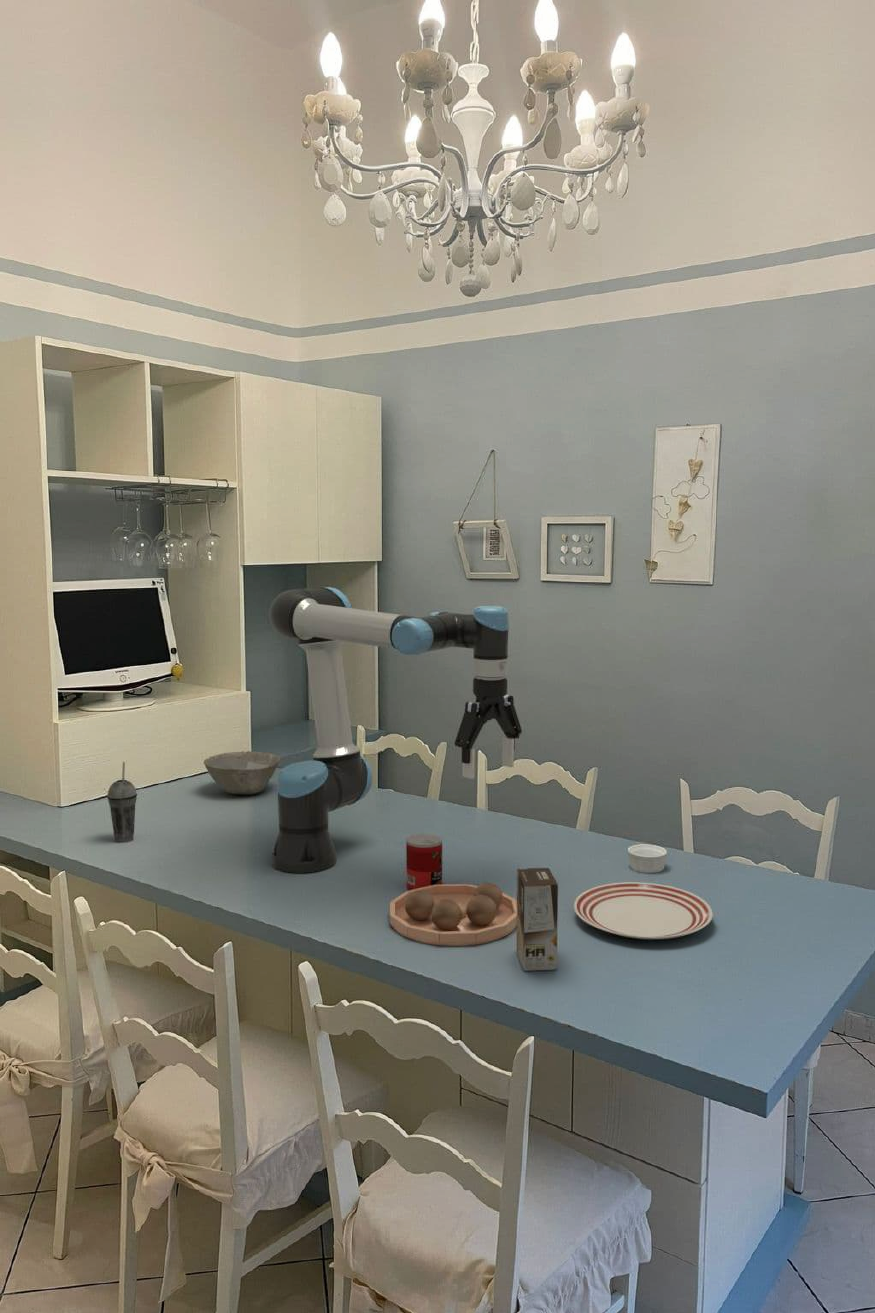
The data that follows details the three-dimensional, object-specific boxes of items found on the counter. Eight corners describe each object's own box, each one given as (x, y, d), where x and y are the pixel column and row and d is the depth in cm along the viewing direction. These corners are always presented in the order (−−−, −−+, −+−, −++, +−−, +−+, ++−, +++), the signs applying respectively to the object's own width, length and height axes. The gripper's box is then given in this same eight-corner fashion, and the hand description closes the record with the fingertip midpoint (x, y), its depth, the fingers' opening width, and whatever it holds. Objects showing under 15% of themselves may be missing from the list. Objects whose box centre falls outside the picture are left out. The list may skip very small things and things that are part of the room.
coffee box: (558, 970, 179) (559, 884, 177) (523, 971, 179) (523, 885, 176) (548, 948, 188) (549, 867, 186) (514, 950, 188) (515, 868, 185)
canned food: (438, 894, 216) (438, 845, 214) (402, 892, 217) (402, 843, 216) (445, 882, 223) (445, 834, 222) (410, 880, 225) (410, 832, 223)
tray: (365, 930, 197) (365, 918, 197) (428, 887, 220) (428, 877, 219) (484, 956, 185) (484, 943, 185) (538, 908, 208) (538, 897, 207)
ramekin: (666, 875, 227) (667, 857, 227) (627, 873, 229) (627, 855, 228) (665, 863, 236) (666, 845, 235) (627, 860, 237) (628, 843, 237)
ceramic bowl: (245, 806, 283) (244, 772, 282) (188, 795, 296) (187, 762, 294) (296, 789, 302) (296, 757, 300) (241, 779, 314) (240, 748, 313)
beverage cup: (103, 842, 252) (99, 765, 249) (122, 834, 259) (118, 758, 256) (126, 845, 249) (122, 767, 247) (145, 837, 256) (141, 761, 253)
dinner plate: (686, 962, 183) (687, 945, 182) (551, 930, 197) (551, 914, 197) (729, 912, 206) (729, 897, 205) (605, 887, 220) (605, 873, 220)
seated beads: (394, 925, 197) (394, 896, 196) (437, 895, 213) (437, 868, 212) (477, 943, 189) (477, 913, 188) (515, 910, 205) (515, 882, 204)
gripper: (465, 686, 206) (464, 785, 209) (538, 672, 224) (536, 764, 227) (438, 681, 211) (437, 779, 214) (512, 669, 229) (510, 759, 232)
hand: (488, 771), depth 221 cm, fingers open, 13 cm apart
